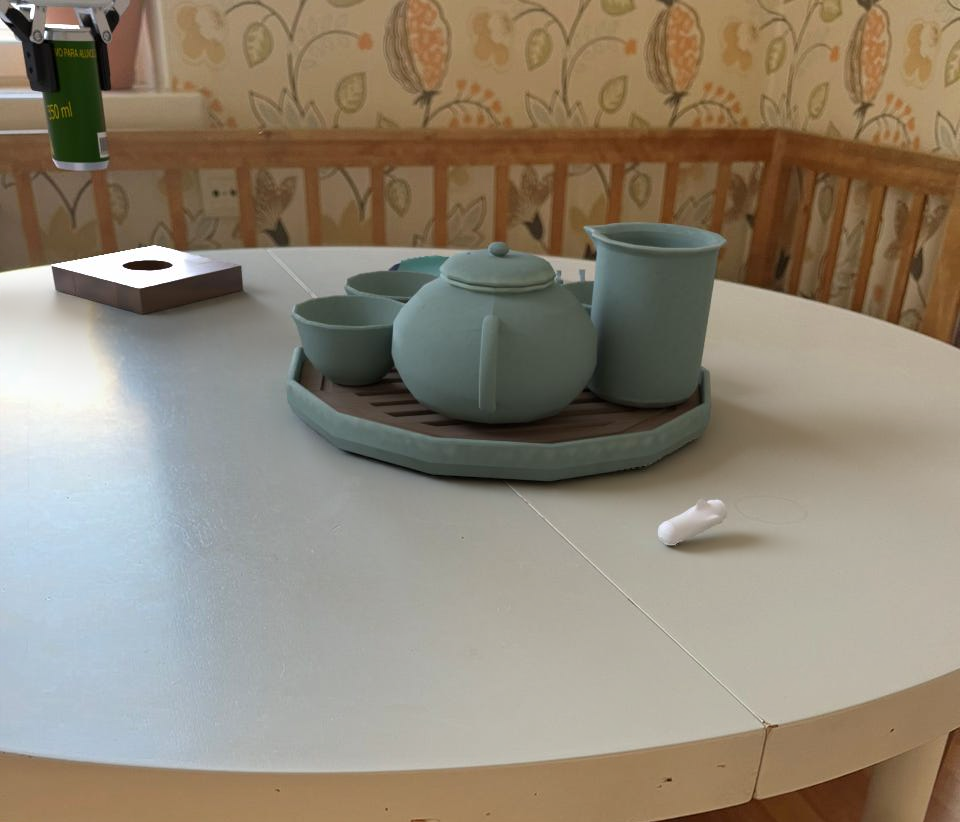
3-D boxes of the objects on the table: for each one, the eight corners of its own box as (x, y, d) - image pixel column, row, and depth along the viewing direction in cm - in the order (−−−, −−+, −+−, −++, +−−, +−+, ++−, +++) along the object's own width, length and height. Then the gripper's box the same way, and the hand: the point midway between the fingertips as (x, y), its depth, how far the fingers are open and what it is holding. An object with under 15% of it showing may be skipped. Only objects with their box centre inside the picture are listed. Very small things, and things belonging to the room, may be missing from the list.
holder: (55, 290, 128) (50, 264, 127) (157, 269, 140) (155, 245, 138) (142, 314, 121) (139, 288, 119) (243, 290, 132) (241, 265, 131)
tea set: (602, 335, 122) (618, 182, 113) (789, 466, 90) (831, 267, 81) (257, 353, 110) (245, 185, 102) (330, 510, 78) (322, 284, 70)
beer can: (116, 164, 106) (99, 26, 99) (104, 172, 101) (86, 29, 95) (61, 161, 105) (40, 23, 99) (47, 169, 101) (24, 25, 94)
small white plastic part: (640, 529, 78) (645, 490, 76) (717, 528, 79) (724, 489, 77) (652, 551, 75) (658, 511, 73) (732, 549, 76) (740, 510, 74)
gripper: (94, -135, 98) (120, 84, 107) (-81, -159, 86) (-35, 90, 95) (148, -135, 94) (169, 91, 104) (-27, -160, 82) (15, 98, 92)
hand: (71, 88), depth 100 cm, fingers closed on beer can, 5 cm apart
